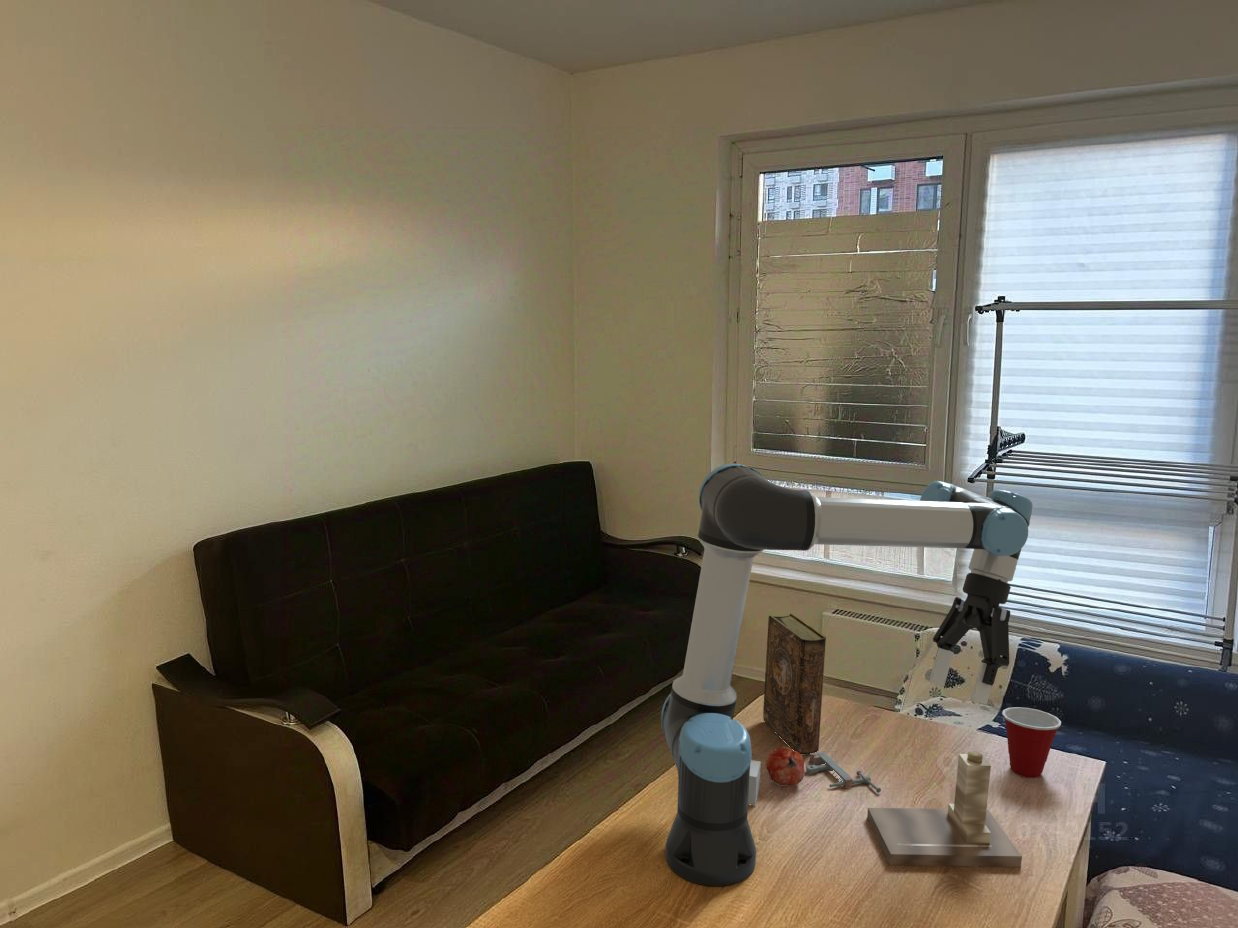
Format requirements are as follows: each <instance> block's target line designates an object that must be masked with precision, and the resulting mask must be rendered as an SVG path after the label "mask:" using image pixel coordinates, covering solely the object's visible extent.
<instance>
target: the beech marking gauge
mask: <svg viewBox="0 0 1238 928" xmlns="http://www.w3.org/2000/svg"><path fill="white" fill-rule="evenodd" d="M957 762H958V763H957V772H956V781H955V782H956V783H955V790H954V792H955V794H954V803H947V804H948V805H947V809H948V815H949V817H950V818H951V820H952V821H953V823H954V824H955V826H956V828H957V829H958V831H959V832H960V834H961V835H962V837H963V838H964V840H965V842H966V843H990V836H991V832H990V831H989V829H988V828H987V826H986V825H985V820H986V810H988V809H987V808H988V800H989V798H988V797H989V790H990V789H989V788H990V787H989V786H990V778H991V769H992V766H991V764H990V763H989V762H988V760H987V758H985V756H984V755H983V754H982V753H981V752H979V751H977V750H968V752H967V753H959V754H958V761H957Z"/></svg>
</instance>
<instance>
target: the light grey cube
mask: <svg viewBox="0 0 1238 928" xmlns="http://www.w3.org/2000/svg"><path fill="white" fill-rule="evenodd" d="M761 769H762V761H760V760H753V759H751V763H750V776H749V794H748V804H751V805H755V804H756V805H757V801H758V797H757V796H759V793H760V786H761ZM756 800H757V801H756ZM751 805H750V806H751ZM756 805H755V806H756Z"/></svg>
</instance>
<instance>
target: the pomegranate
mask: <svg viewBox="0 0 1238 928" xmlns="http://www.w3.org/2000/svg"><path fill="white" fill-rule="evenodd" d="M804 765H805V760H804V758H803V755H801V754H800V753H799V752H797V751H793V750H792V749H791V748H790V747H789V746H779V747H778V746H777V747H776V748H774V749H773V750H772V751H771V752H770V753H769V755H768V757H767V758H766V761H765V768H766V771H767V772H768V774H769V777H770V780H771V781H772V782H773V783H775V784H776V785H778V786H781V787H787V786H790V787H794V786H795V787H796V786H797V785H799V784H800V783H801V782H802V781H803V780H804V777H805V766H804Z"/></svg>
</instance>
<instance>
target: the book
mask: <svg viewBox="0 0 1238 928" xmlns="http://www.w3.org/2000/svg"><path fill="white" fill-rule="evenodd" d="M767 619H768V620H767V621H768V623H767V639H766V640H767V641H766V656H765V657H766V658H765V675H764V689H763V692H764V694H763V709H762V710H763V711H762V717H763V718H762V719H763V722H764V721H765V722H764V723H765V724H766V723H767V724H766V725H767V726H768V728H769V729H771V728H772V729H771V730H772V731H773V733H775V732H776V733H777V734H776V733H775V734H776V735H777V736H778V735H779V736H780V737H781V738H782V739H783V740H784V741H785V742H786V743H787V744H788V745H789V746H790V747H791V748H792V749H793V750H794V751H797V752H799V753H800V754H810V753H815V752H817V751H818V752H819V748H820V747H819V746H820V732H821V719H822V718H821V717H822V716H821V715H822V703H823V702H822V701H823V687H824V674H825V672H824V671H825V658H826V657H825V656H826V642H827V636H826V635H824V634H823V633H821V632H820V631H818V629H816V628H814V627H813V626H811V625H810V624H808V623H807V622H805V621H804V620H803V619H802V618H800V617H798V616H797V615H795V614H794V613H789V614H788V615H786V616H773V615H772V614H771V615H768V618H767ZM779 736H778V737H779ZM780 737H779V738H780ZM781 738H780V739H781ZM782 739H781V740H782ZM783 740H782V741H783ZM784 741H783V742H784ZM785 742H784V743H785ZM786 743H785V744H786ZM787 744H786V745H787ZM788 745H787V746H788ZM789 746H788V747H789ZM790 747H789V748H790ZM791 748H790V749H791ZM792 749H791V750H792ZM818 752H817V753H818Z"/></svg>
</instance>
